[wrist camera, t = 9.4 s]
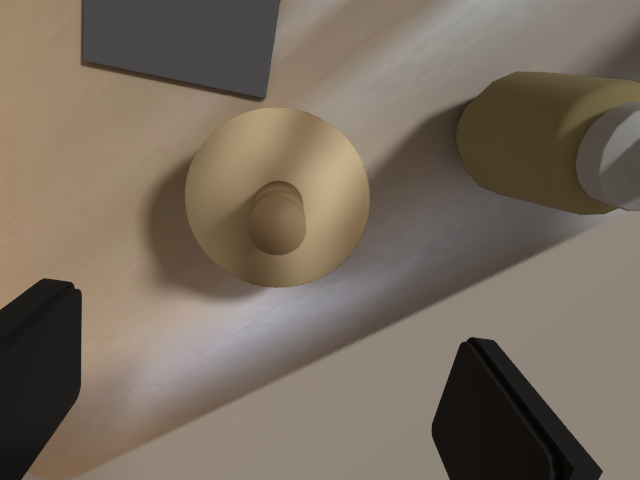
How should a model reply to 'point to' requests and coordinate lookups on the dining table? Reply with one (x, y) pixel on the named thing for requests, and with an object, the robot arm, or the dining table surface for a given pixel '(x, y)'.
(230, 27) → the mat
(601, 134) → the squeeze bottle
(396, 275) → the dining table surface
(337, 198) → the lid
